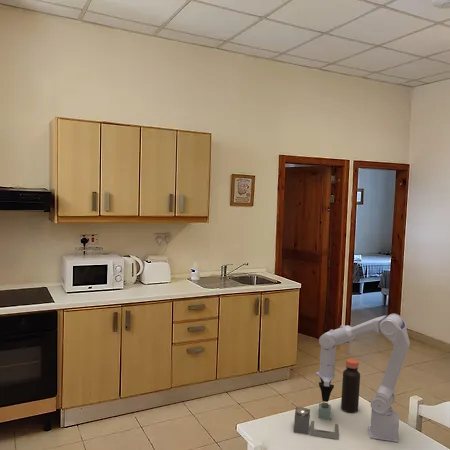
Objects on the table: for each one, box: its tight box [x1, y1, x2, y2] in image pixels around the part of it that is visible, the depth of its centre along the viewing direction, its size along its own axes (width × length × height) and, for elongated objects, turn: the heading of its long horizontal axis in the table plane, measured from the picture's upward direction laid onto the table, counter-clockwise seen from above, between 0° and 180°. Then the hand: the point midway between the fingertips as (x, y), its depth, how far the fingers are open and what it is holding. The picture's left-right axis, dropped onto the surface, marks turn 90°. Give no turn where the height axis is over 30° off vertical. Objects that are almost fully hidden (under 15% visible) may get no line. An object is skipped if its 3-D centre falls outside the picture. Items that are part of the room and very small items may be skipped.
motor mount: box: [293, 406, 340, 441], centre depth 163 cm, size 16×8×7 cm, turn 78°
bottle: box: [340, 358, 361, 414], centre depth 181 cm, size 7×7×20 cm
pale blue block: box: [317, 401, 332, 421], centre depth 175 cm, size 4×4×5 cm
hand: (325, 396), depth 174 cm, fingers open, 7 cm apart
